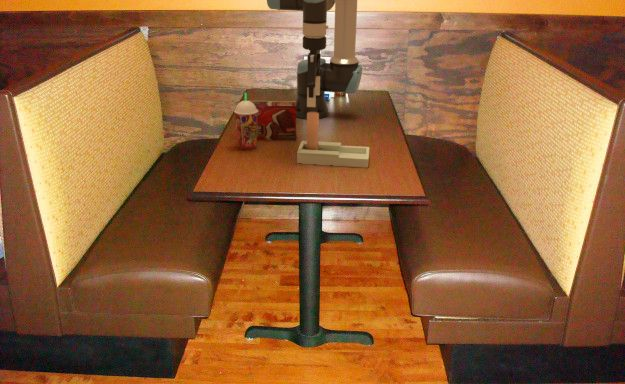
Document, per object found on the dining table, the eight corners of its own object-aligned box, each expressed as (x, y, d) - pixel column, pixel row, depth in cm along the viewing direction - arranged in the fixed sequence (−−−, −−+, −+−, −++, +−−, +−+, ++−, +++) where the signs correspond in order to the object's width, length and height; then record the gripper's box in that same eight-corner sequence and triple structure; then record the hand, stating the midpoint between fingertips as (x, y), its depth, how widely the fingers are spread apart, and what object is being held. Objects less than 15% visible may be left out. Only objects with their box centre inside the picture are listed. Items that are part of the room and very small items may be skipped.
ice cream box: (295, 134, 225) (295, 101, 219) (295, 140, 219) (296, 106, 213) (243, 134, 224) (242, 100, 219) (242, 140, 218) (241, 105, 213)
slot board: (301, 151, 208) (301, 140, 207) (368, 155, 206) (369, 144, 205) (297, 163, 198) (297, 152, 196) (368, 167, 195) (368, 156, 194)
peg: (304, 151, 205) (304, 110, 199) (322, 152, 205) (323, 111, 199) (301, 158, 200) (302, 115, 193) (320, 159, 199) (321, 116, 193)
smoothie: (255, 152, 207) (253, 97, 199) (232, 150, 208) (230, 95, 200) (261, 144, 214) (260, 90, 206) (239, 142, 216) (237, 89, 207)
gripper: (322, 44, 174) (321, 112, 183) (329, 29, 196) (328, 90, 205) (297, 43, 174) (297, 111, 184) (307, 28, 197) (306, 90, 206)
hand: (313, 100), depth 194 cm, fingers open, 13 cm apart
